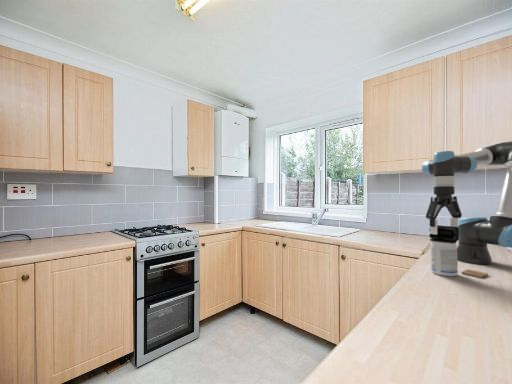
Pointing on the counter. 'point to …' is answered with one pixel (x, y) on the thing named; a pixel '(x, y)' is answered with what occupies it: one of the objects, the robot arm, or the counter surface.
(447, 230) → the end cap
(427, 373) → the counter surface
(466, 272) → the oak coaster
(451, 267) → the supplement tub
